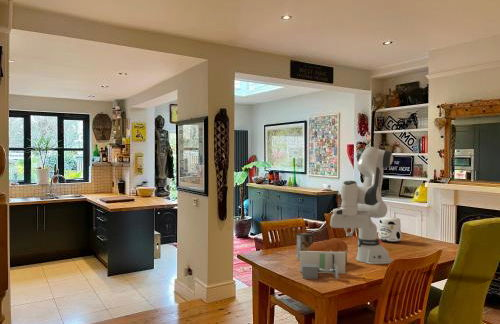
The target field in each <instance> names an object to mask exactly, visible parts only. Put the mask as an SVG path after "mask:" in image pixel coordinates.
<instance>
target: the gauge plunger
mask: <svg viewBox="0 0 500 324" xmlns="http://www.w3.org/2000/svg"><path fill="white" fill-rule="evenodd" d="M318 272H333V273H332V274H333V276H334V277H335V280H337V279H339V273H338V266H337V265H336V263H334V254H333V269H318Z"/></svg>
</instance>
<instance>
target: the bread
mask: <svg viewBox="0 0 500 324" xmlns="http://www.w3.org/2000/svg"><path fill="white" fill-rule="evenodd" d="M348 249H349V248H348V245H347V243H346V242H345V241H344V240H342V239H341V238H337V237H332V238H330V239H325V240H321V241H313V244H311V245H310V246H309V247H308V249H307V251H322V252H345V265H346V264H348V252H349V250H348Z"/></svg>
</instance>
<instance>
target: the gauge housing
mask: <svg viewBox="0 0 500 324" xmlns="http://www.w3.org/2000/svg"><path fill="white" fill-rule="evenodd" d="M333 254H334V263H336V265H337V266H338V274H343V275H345V274H346V264H345V252H322V251H300V259H299V273H301V276H302V279H304V280H305V279H306V280H307V279H308V280H318V277H319V275H318V274H334V273H333V272H318V269H333Z"/></svg>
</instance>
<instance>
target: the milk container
mask: <svg viewBox="0 0 500 324" xmlns="http://www.w3.org/2000/svg"><path fill="white" fill-rule="evenodd" d="M401 227H402V226H401V218H399V217H392V216H384V217H383V218H379V229H378V231H377V238H378V239H379V240H381V241H382V242H387V243H399V242H400V241H402V230H401Z"/></svg>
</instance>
